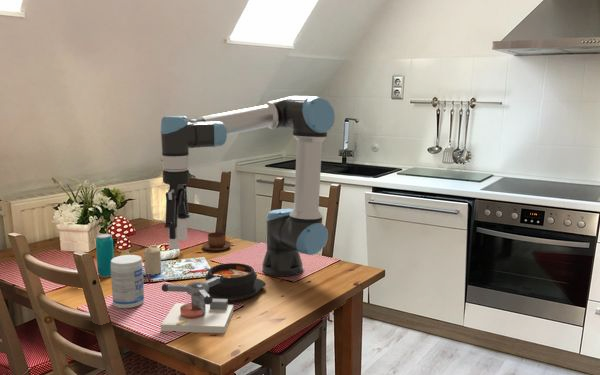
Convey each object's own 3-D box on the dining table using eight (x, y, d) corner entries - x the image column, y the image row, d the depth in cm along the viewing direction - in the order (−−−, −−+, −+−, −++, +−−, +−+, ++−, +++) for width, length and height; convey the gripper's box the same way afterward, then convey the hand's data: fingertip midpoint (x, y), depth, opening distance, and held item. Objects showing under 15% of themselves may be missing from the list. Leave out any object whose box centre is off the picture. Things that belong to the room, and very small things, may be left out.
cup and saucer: (207, 243, 235) (207, 230, 234) (234, 245, 233) (234, 231, 232) (198, 252, 223) (198, 237, 222) (226, 253, 222) (226, 239, 220)
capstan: (224, 301, 167) (224, 273, 165) (212, 328, 148) (211, 297, 147) (171, 299, 167) (170, 272, 166) (152, 326, 149) (151, 296, 147)
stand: (233, 310, 165) (233, 297, 164) (224, 333, 150) (224, 318, 149) (175, 309, 166) (175, 295, 165) (160, 331, 151) (160, 316, 150)
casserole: (242, 277, 194) (241, 255, 192) (278, 291, 181) (278, 267, 180) (183, 296, 176) (182, 272, 174) (219, 313, 163) (218, 287, 162)
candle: (150, 276, 194) (148, 249, 192) (143, 272, 198) (141, 246, 196) (164, 273, 197) (162, 247, 195) (157, 269, 201) (155, 243, 200)
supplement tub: (143, 308, 167) (141, 263, 164) (111, 310, 164) (108, 265, 162) (145, 296, 176) (143, 253, 173) (114, 298, 174) (112, 255, 171)
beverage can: (110, 271, 198) (108, 232, 196) (117, 275, 194) (115, 235, 192) (95, 275, 194) (92, 235, 192) (102, 279, 190) (99, 238, 188)
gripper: (173, 163, 167) (176, 233, 171) (151, 175, 146) (154, 255, 150) (197, 164, 167) (199, 234, 171) (178, 175, 145) (181, 255, 149)
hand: (178, 243), depth 160 cm, fingers open, 9 cm apart
